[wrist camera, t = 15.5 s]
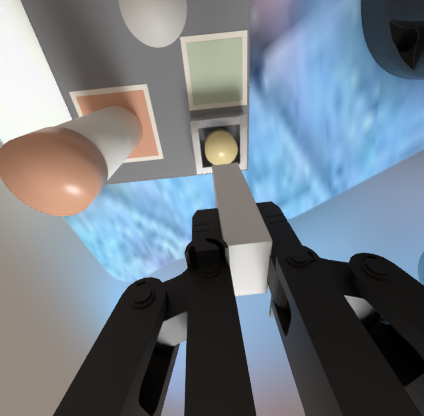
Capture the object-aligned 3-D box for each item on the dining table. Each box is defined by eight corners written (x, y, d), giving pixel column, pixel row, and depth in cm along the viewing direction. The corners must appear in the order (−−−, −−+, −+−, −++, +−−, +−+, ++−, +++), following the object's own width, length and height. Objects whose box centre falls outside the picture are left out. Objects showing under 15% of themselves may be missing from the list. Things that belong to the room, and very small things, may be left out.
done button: (233, 126, 19) (237, 132, 17) (234, 156, 20) (237, 164, 19) (202, 129, 19) (203, 135, 17) (206, 159, 20) (206, 167, 19)
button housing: (242, 111, 19) (247, 115, 17) (242, 160, 22) (246, 169, 20) (190, 116, 19) (189, 121, 17) (197, 165, 22) (197, 174, 20)
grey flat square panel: (248, -76, 14) (251, -84, 13) (246, 166, 23) (248, 170, 22) (5, -51, 14) (-5, -57, 13) (103, 181, 23) (100, 185, 22)
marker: (136, 101, 18) (68, 131, 9) (148, 148, 20) (106, 211, 11) (88, 106, 18) (-26, 143, 9) (106, 153, 21) (30, 219, 11)
